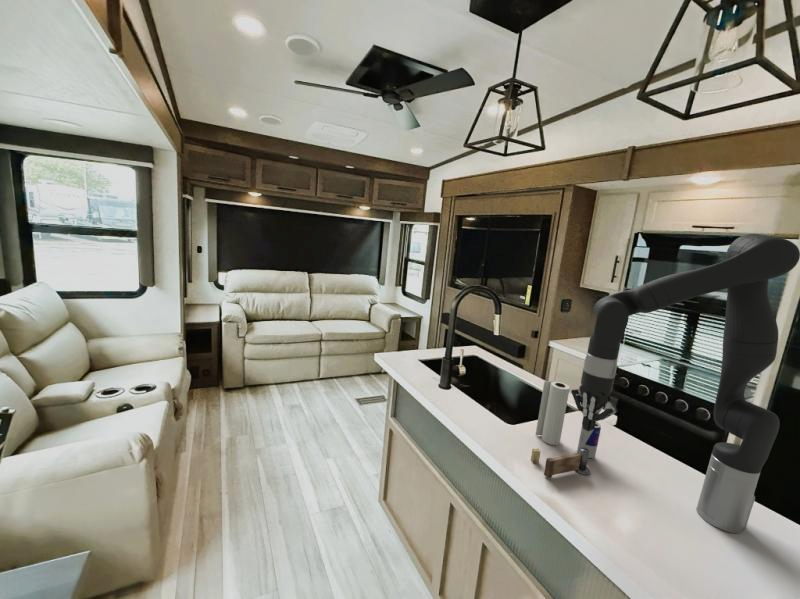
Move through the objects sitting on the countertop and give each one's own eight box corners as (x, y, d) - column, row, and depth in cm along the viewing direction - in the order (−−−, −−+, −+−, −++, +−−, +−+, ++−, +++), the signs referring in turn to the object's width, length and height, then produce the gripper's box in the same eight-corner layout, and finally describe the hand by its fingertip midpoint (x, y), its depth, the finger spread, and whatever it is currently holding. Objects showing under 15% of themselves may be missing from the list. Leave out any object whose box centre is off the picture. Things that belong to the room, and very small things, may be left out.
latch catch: (536, 459, 112) (538, 448, 111) (538, 462, 110) (540, 451, 110) (530, 459, 112) (532, 448, 111) (532, 462, 110) (534, 451, 110)
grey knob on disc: (583, 464, 111) (587, 445, 110) (593, 475, 106) (597, 455, 105) (569, 464, 111) (572, 445, 109) (578, 475, 106) (582, 455, 104)
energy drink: (596, 462, 113) (603, 429, 111) (579, 459, 114) (585, 426, 112) (591, 452, 118) (598, 420, 116) (574, 449, 119) (580, 417, 117)
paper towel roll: (563, 444, 122) (574, 387, 118) (550, 447, 120) (560, 389, 115) (548, 432, 128) (557, 378, 124) (535, 435, 126) (544, 380, 122)
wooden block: (574, 468, 108) (577, 452, 107) (578, 471, 107) (581, 455, 106) (543, 474, 104) (546, 458, 103) (547, 478, 103) (550, 461, 102)
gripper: (568, 363, 97) (558, 419, 101) (612, 383, 86) (599, 445, 89) (587, 361, 100) (577, 415, 104) (632, 379, 89) (619, 440, 92)
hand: (587, 429), depth 96 cm, fingers closed
